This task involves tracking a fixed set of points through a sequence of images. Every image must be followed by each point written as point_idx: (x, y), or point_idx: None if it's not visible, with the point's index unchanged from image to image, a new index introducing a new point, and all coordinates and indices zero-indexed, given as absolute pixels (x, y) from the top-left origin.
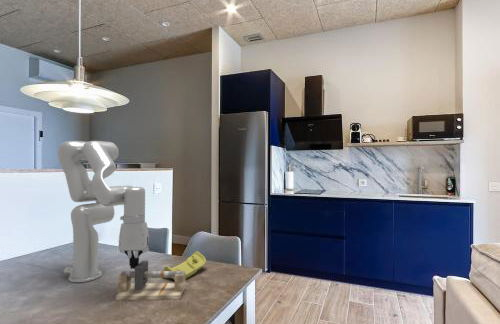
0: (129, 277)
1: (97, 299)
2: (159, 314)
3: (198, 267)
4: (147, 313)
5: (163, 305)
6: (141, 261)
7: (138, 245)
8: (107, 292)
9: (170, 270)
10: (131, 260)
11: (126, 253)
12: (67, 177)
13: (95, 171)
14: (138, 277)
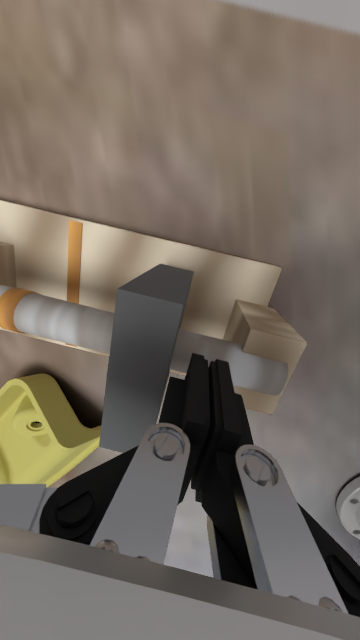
0: (228, 341)
1: (356, 292)
2: (50, 32)
3: None
4: (111, 61)
5: (53, 147)
6: None
7: None
8: (312, 351)
9: (50, 419)
10: (226, 410)
11: (327, 547)
12: None
13: None
14: (162, 278)
